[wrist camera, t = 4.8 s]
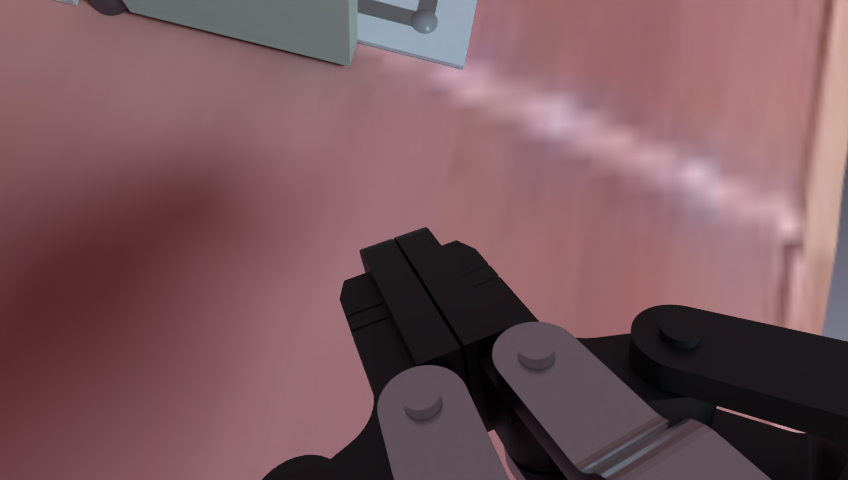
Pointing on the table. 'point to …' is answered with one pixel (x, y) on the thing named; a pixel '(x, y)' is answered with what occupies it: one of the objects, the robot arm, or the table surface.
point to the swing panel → (269, 22)
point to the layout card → (418, 28)
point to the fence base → (103, 6)
